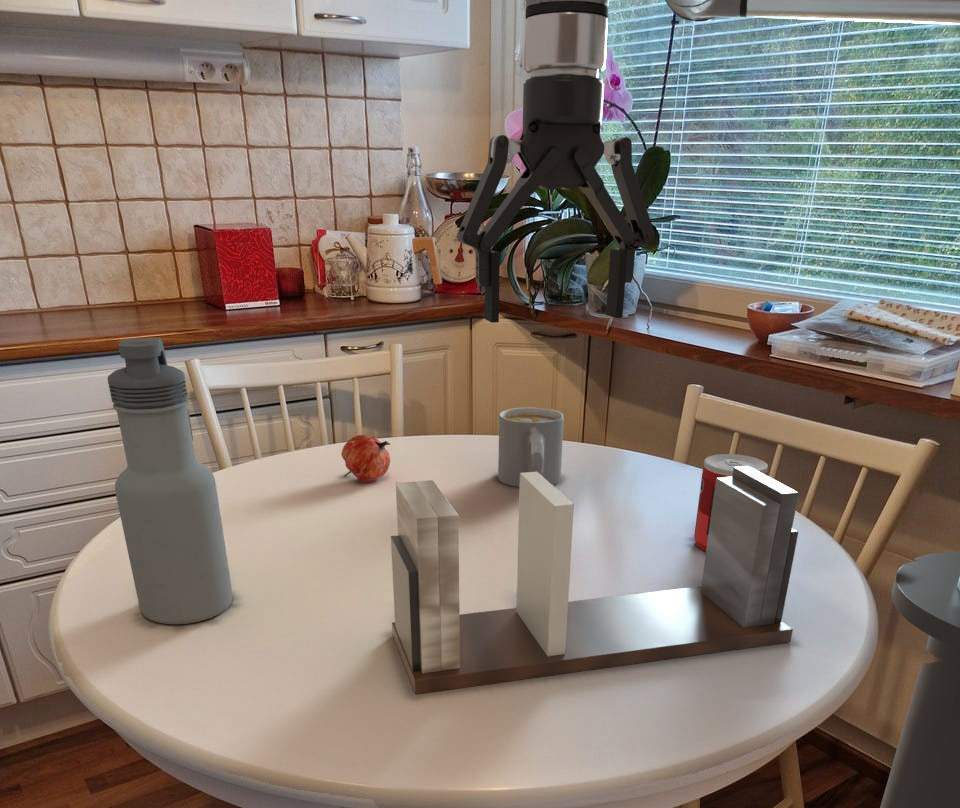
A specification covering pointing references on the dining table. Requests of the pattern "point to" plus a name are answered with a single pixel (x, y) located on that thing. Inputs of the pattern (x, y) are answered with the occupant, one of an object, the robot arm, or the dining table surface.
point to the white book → (544, 561)
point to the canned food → (711, 470)
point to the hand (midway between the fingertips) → (553, 319)
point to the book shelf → (593, 622)
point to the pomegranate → (366, 457)
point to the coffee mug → (530, 444)
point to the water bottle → (166, 493)
